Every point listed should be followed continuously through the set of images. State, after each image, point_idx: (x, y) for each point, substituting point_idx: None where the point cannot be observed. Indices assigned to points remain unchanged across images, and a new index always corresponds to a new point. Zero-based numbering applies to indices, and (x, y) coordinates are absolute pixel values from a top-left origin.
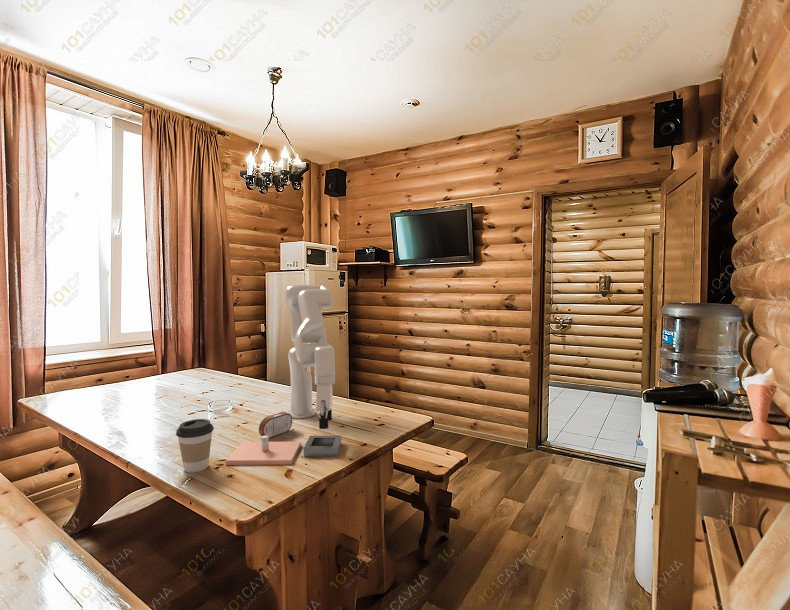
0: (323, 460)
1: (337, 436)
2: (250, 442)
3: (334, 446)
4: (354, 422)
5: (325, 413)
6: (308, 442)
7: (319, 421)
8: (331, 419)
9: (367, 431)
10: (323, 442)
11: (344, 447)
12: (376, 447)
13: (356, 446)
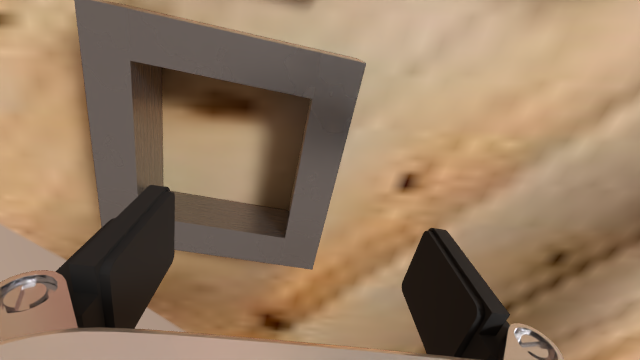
0: (72, 135)
1: (300, 249)
2: None
3: None
4: (575, 311)
5: (450, 300)
6: (212, 46)
7: (105, 233)
8: (405, 293)
9: None
10: (300, 153)
11: None
12: None
13: (256, 294)
